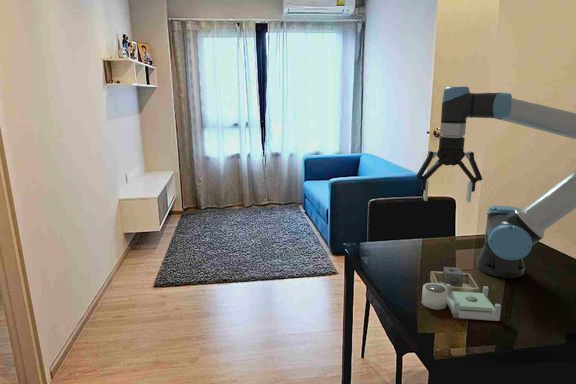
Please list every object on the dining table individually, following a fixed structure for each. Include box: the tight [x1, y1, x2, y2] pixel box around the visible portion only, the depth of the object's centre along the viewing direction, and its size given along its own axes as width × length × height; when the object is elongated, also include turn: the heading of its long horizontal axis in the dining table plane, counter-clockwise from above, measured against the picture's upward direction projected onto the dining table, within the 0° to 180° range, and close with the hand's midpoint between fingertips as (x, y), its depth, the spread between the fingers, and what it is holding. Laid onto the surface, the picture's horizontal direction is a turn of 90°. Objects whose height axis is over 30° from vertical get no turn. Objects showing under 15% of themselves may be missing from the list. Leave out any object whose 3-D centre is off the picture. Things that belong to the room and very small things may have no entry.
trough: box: [429, 270, 481, 293], centre depth 132 cm, size 12×11×3 cm
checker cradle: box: [446, 284, 502, 322], centre depth 119 cm, size 12×12×4 cm
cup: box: [421, 282, 448, 311], centre depth 122 cm, size 7×7×5 cm
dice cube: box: [442, 266, 464, 287], centre depth 133 cm, size 5×5×5 cm
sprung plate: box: [451, 291, 493, 311], centre depth 119 cm, size 9×9×1 cm
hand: (446, 200), depth 136 cm, fingers open, 13 cm apart
